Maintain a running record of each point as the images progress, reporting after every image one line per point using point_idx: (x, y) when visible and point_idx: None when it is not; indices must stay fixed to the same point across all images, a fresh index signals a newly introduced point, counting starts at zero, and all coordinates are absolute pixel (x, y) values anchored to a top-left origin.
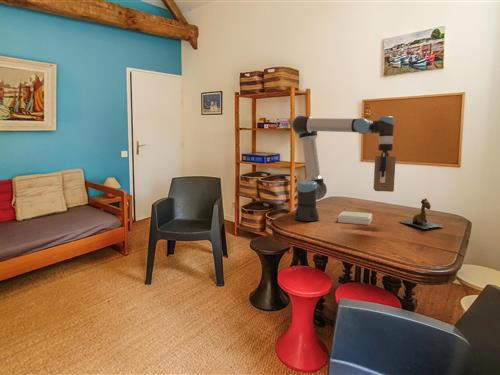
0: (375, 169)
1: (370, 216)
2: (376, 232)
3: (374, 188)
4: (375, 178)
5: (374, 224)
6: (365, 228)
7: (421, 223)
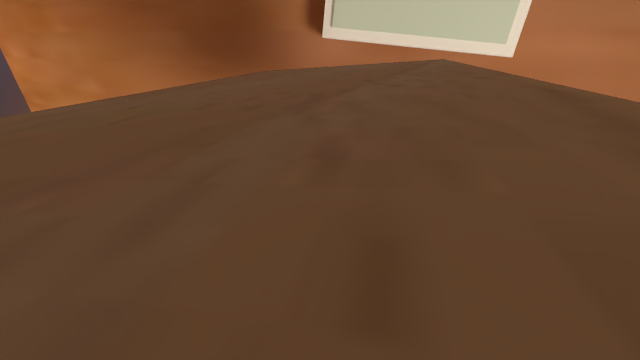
0: (163, 108)
1: (398, 42)
2: (187, 68)
3: (324, 67)
4: (208, 83)
5: (348, 65)
6: (240, 19)
7: None
